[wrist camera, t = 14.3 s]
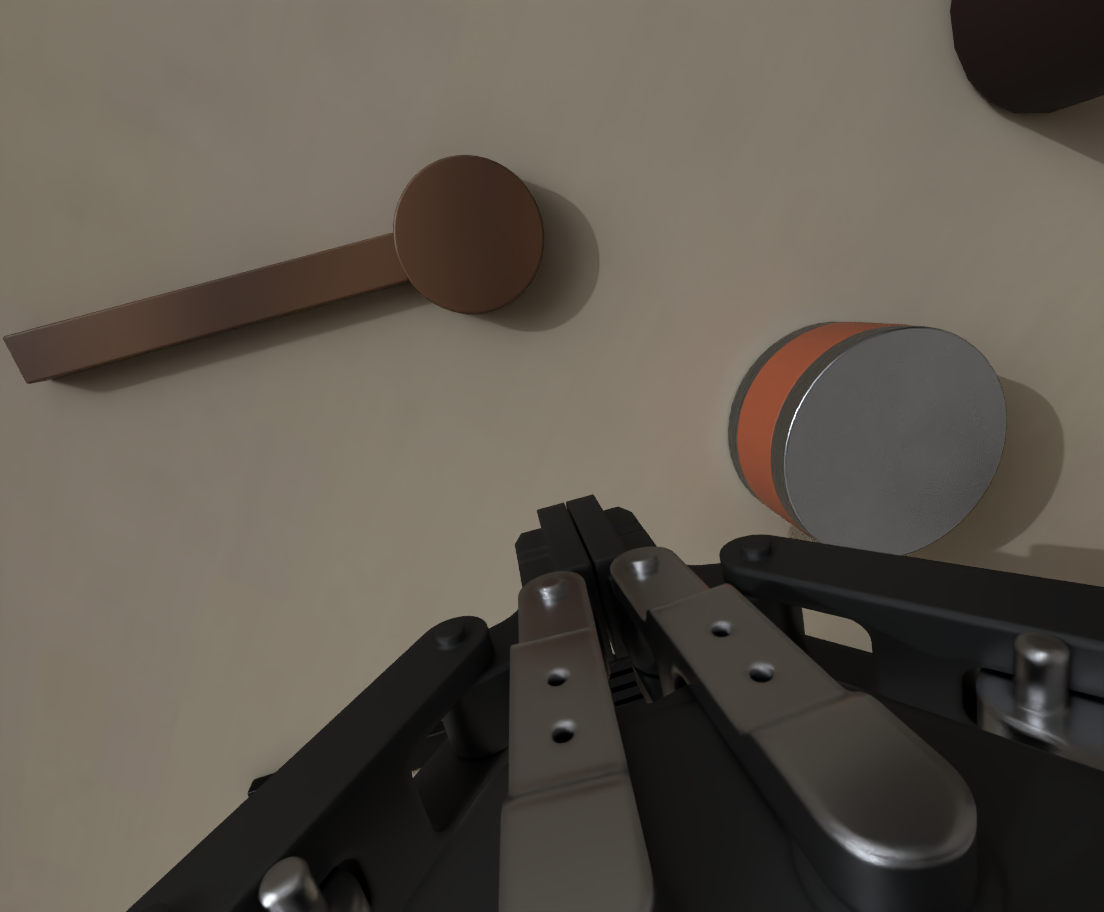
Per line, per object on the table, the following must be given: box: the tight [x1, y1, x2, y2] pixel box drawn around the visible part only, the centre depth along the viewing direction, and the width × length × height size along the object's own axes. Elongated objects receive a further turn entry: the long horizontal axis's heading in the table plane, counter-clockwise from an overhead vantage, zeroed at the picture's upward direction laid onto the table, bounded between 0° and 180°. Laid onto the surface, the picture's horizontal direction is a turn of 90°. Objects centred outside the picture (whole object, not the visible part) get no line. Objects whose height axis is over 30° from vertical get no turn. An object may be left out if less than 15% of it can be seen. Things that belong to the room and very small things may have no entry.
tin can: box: [728, 322, 1007, 555], centre depth 19 cm, size 7×7×4 cm
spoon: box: [3, 155, 544, 384], centre depth 17 cm, size 16×4×1 cm, turn 105°
